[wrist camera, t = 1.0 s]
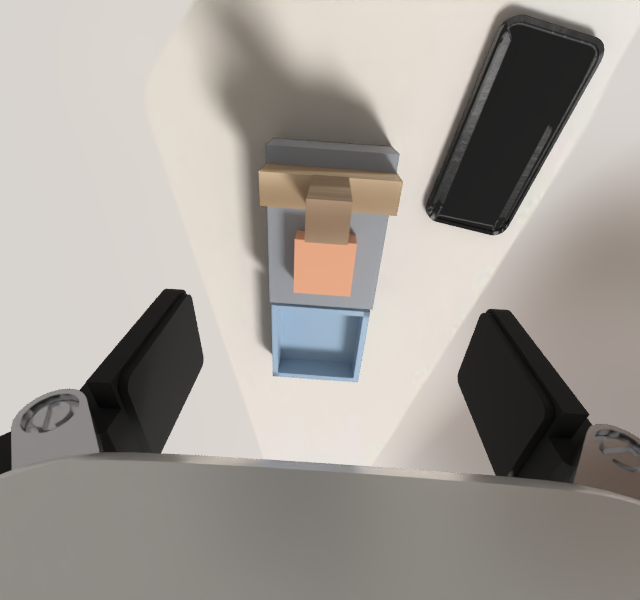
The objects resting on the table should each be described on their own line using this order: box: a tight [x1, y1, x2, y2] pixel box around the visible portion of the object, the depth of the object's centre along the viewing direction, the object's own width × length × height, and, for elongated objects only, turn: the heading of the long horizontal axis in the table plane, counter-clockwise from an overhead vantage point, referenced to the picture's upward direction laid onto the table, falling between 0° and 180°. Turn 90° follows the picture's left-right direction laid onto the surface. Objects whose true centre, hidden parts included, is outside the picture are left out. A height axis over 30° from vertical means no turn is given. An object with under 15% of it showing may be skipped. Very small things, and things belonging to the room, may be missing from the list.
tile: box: [294, 230, 357, 297], centre depth 29 cm, size 5×5×2 cm
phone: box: [426, 15, 604, 235], centre depth 27 cm, size 8×1×15 cm
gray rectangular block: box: [266, 138, 400, 310], centre depth 30 cm, size 14×10×4 cm
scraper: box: [258, 163, 403, 245], centre depth 22 cm, size 2×10×9 cm, turn 87°
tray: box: [271, 302, 370, 382], centre depth 38 cm, size 10×10×3 cm
